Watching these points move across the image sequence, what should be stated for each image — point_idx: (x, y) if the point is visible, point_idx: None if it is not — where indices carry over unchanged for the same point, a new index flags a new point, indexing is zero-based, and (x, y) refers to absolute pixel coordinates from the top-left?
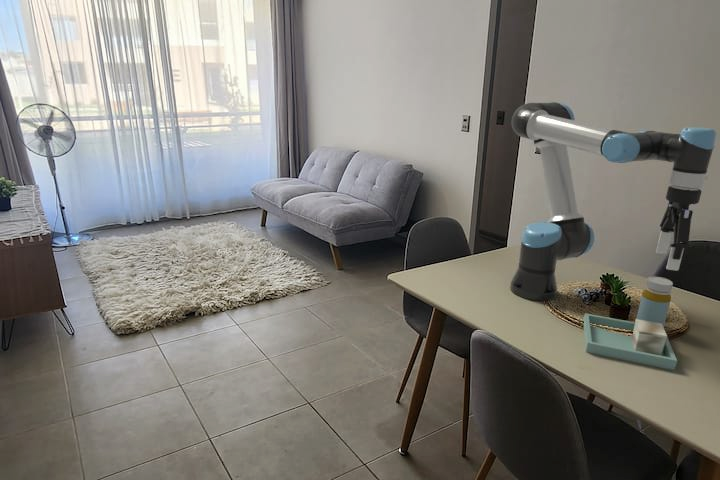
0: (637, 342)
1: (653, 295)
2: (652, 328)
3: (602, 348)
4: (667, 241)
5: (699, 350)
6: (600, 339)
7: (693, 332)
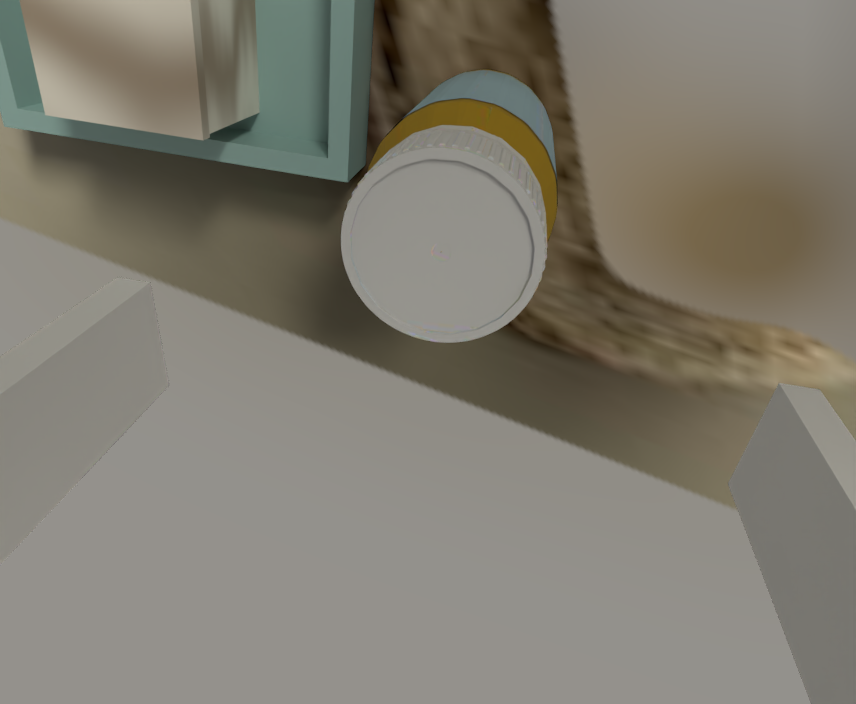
0: None
1: (377, 160)
2: (100, 53)
3: None
4: (811, 633)
5: (314, 299)
6: None
7: (484, 343)
